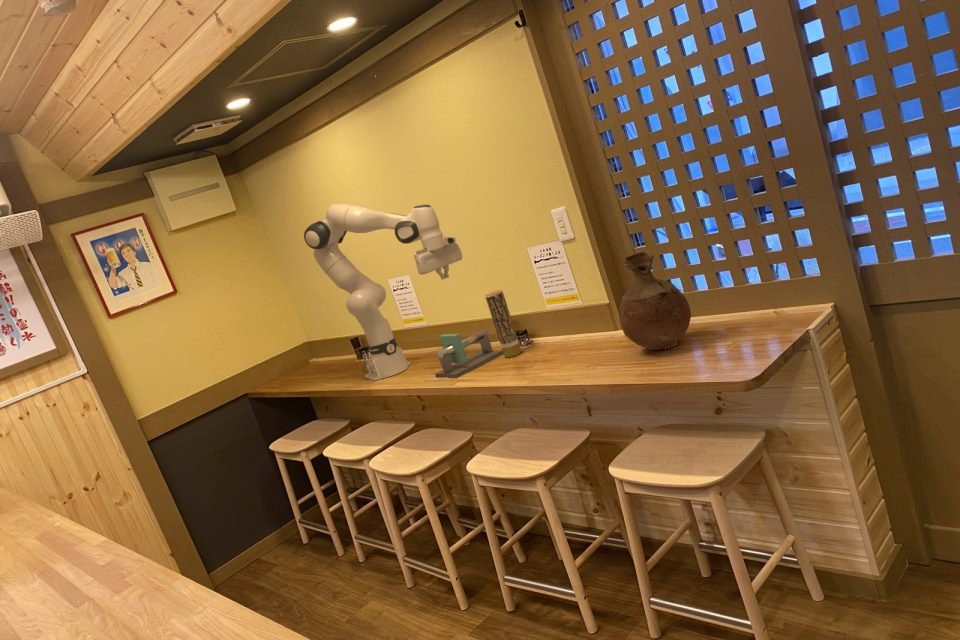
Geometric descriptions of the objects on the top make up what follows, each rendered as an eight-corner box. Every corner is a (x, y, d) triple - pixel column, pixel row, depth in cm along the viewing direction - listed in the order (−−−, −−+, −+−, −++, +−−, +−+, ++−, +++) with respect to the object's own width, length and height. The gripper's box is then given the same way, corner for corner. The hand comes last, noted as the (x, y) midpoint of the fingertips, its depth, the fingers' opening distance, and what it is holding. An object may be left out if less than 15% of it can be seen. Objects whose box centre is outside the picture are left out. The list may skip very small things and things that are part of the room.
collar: (447, 362, 281) (439, 336, 279) (451, 360, 282) (443, 334, 280) (464, 363, 272) (455, 335, 270) (468, 361, 273) (459, 333, 272)
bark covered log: (520, 355, 272) (500, 292, 267) (503, 359, 273) (483, 297, 269) (522, 350, 278) (503, 288, 274) (506, 354, 280) (486, 293, 275)
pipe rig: (442, 374, 275) (434, 351, 274) (488, 350, 289) (481, 329, 287) (447, 374, 272) (440, 351, 270) (494, 350, 286) (487, 328, 284)
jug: (648, 363, 214) (620, 267, 208) (617, 353, 235) (591, 265, 229) (711, 339, 218) (686, 243, 213) (675, 330, 239) (651, 243, 233)
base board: (436, 377, 279) (434, 373, 279) (482, 354, 293) (481, 350, 293) (456, 378, 268) (455, 374, 268) (503, 354, 282) (502, 350, 282)
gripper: (417, 251, 274) (428, 286, 277) (458, 236, 286) (469, 269, 288) (408, 253, 279) (420, 287, 282) (449, 238, 291) (460, 271, 293)
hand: (445, 278), depth 285 cm, fingers closed
